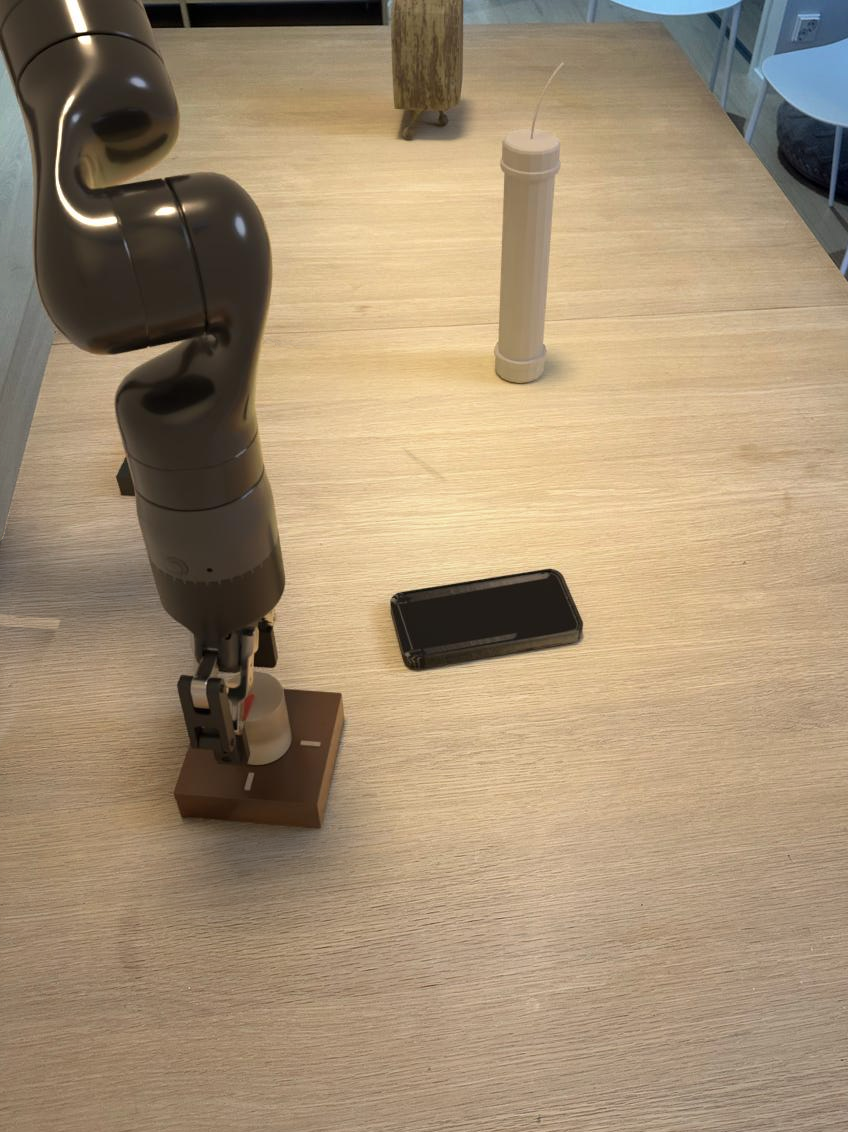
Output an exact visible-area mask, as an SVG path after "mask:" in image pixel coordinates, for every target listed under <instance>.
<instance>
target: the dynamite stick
mask: <svg viewBox="0 0 848 1132" xmlns="http://www.w3.org/2000/svg"><path fill="white" fill-rule="evenodd" d="M564 65H565V62H564V61H561V63H560V64H559V65H558V66H557V67H556V69H555V70H554V72H552V74H551V76H550V77H549V79H548V81H547V82H546V84H545V86H544V88H543V89H542V92H541V95H540V97H539V99H538V102H537V105H536V108H535V112H534V116H533V119H532V124H531V127H530V128H520V129H515V130H512V131H510V132H508V133H506V134H505V136H504V137H503V139H502V145H501V146H502V147H501V158H500V160H499V161H500V162H499V167H500V170H501V171H502V172H503V173H504V174H503V178H504V179H503V199H502V201H503V202H502V204H503V205H502V228H501V229H502V230H501V231H502V232H501V256H500V259H501V260H500V286H499V311H498V312H499V313H498V341H497V342H496V344H495V346H494V347H493V353H494V357H495V358H494V368H495V372H496V374H497V375H498V376H499V377H500V378H501V379H503V380H506V381H507V382H510V383H518V384H522V383H524V384H525V383H530V382H533V381H536V380H538V379H539V378H540V377H541V376H542V375H543V372H544V370H545V362H546V361H545V360H546V357H547V353H548V352H547V348H546V345H545V344H544V337H545V323H546V312H547V311H546V309H547V296H548V281H549V267H550V251H551V239H552V226H553V223H552V222H553V212H554V197H555V196H554V195H555V183H556V182H555V181H556V175H557V174H559V171H560V169H561V160H560V155H561V142H560V139H559V136H557V134H556V135H555V133H553V132H551V131H548V130H544V129H540V128H535V126H536V120H537V116H538V112H539V110H540V106H541V103H542V100H543V98H544V96H545V93H546V91H547V89H548V87H549V85H550V83H551V82H552V81H553V79H554V77H555V76H556V74H557V73H558V72H559V71H560V69H561V68H562V67H563V66H564Z"/></svg>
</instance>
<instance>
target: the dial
mask: <svg viewBox="0 0 848 1132" xmlns="http://www.w3.org/2000/svg"><path fill="white" fill-rule="evenodd" d="M226 683H234V684H239V683H240V674H237V675H236V676H234V677H232V678H231V679H229V680H228V681H226ZM283 689H284V687H283V685H282V683H281V682H280V681H279V679H277V678H276V677H275V676H273V675H271V674H269V673H267V672H262V671H253V690H252V693H251V694H250V695H249V696H248V697H247V698H246V699H244V726H245V731H246V735H247V740H248V744H249V749H250V757H249V760H248V763H247V764H250V765H263V764H268V763H271V762H273V761H275V760H277V759H279V758H280V757H281V756H283V755H284V754H285V753H286V751H287V750H288V748H289V746H290V744H291V740H292V735H291V729H290V723H289V718H288V712H287V707H286V701H285V696H284V691H283ZM228 701H229V706H230V712H231V715H232V702H231V701H230V700H229V699H228Z"/></svg>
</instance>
